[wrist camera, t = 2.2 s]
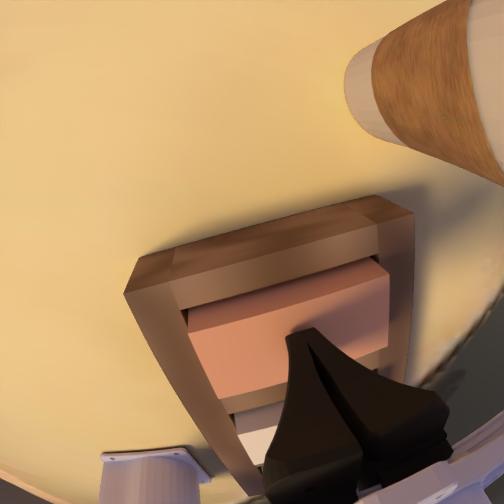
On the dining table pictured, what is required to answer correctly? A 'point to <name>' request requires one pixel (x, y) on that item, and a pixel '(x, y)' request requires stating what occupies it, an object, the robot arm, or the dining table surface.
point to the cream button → (258, 429)
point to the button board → (259, 276)
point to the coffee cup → (437, 86)
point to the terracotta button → (289, 324)
